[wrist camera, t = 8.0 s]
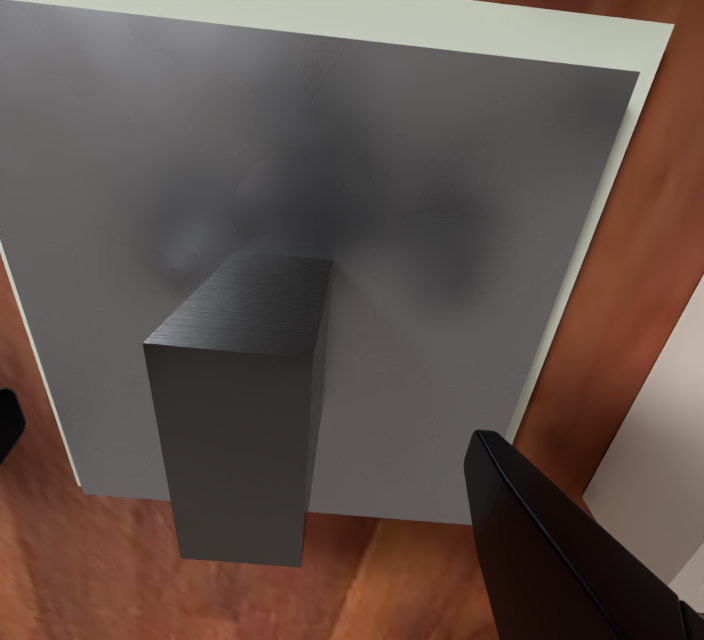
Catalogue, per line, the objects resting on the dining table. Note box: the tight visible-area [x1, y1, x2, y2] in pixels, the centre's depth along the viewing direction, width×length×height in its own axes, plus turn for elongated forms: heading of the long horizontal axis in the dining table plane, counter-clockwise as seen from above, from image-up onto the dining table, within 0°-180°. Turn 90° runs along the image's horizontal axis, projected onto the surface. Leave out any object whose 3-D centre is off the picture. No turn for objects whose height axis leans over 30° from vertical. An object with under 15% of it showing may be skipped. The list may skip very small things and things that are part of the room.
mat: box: [0, 0, 675, 486], centre depth 12 cm, size 16×16×1 cm
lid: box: [0, 0, 640, 567], centre depth 9 cm, size 14×14×6 cm
